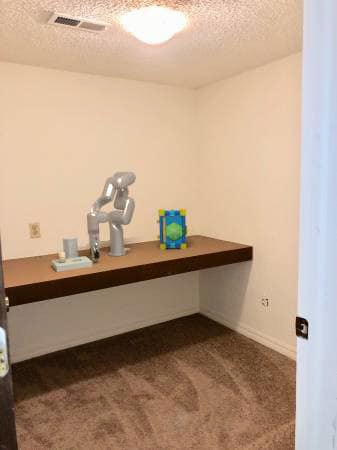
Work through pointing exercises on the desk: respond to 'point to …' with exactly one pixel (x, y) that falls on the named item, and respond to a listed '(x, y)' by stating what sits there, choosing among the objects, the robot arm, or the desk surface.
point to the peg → (93, 256)
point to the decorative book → (172, 228)
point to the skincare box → (70, 247)
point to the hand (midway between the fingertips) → (94, 256)
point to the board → (70, 263)
